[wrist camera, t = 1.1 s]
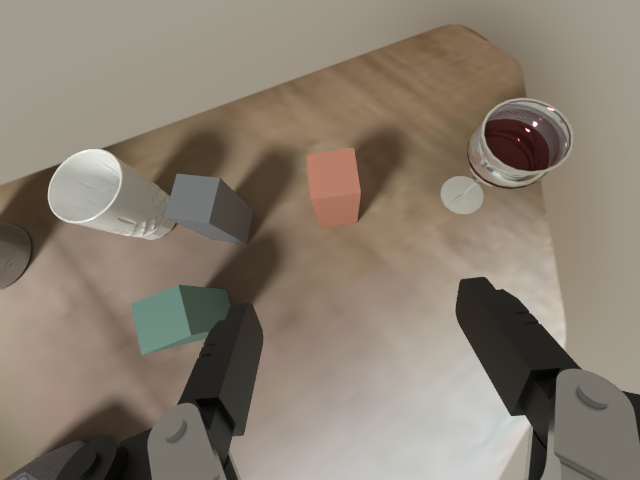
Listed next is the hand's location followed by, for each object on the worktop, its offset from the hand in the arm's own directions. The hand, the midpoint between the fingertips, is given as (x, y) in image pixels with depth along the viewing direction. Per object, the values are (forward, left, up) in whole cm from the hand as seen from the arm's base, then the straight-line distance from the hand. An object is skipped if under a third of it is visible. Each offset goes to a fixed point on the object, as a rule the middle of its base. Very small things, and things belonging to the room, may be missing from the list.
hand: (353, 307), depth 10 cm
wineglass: (+9, +17, -21) cm, 28 cm away
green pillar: (-15, -6, -21) cm, 26 cm away
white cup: (-28, +3, -21) cm, 35 cm away
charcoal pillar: (-17, +5, -21) cm, 27 cm away
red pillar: (-5, +11, -21) cm, 24 cm away
